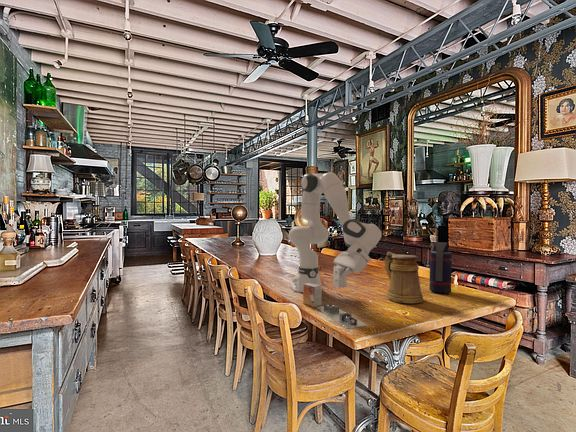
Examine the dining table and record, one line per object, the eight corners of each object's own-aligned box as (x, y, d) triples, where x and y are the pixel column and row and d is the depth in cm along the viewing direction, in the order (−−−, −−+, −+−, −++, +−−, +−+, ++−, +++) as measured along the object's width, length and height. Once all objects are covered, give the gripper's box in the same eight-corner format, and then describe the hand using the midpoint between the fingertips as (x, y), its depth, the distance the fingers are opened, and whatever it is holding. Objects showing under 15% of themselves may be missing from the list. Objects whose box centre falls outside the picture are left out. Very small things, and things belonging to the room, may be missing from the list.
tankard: (410, 306, 169) (411, 258, 168) (373, 296, 188) (374, 252, 187) (429, 301, 179) (430, 255, 179) (393, 291, 198) (393, 250, 198)
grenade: (430, 288, 206) (431, 240, 205) (452, 291, 200) (453, 241, 199) (427, 293, 194) (428, 242, 193) (449, 296, 188) (451, 244, 187)
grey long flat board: (315, 307, 166) (315, 301, 166) (333, 305, 170) (333, 299, 169) (346, 328, 138) (346, 320, 138) (367, 325, 142) (367, 317, 141)
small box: (303, 303, 173) (303, 283, 173) (310, 301, 177) (310, 282, 176) (314, 307, 167) (314, 286, 167) (321, 305, 171) (321, 284, 171)
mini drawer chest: (332, 285, 155) (333, 266, 155) (341, 284, 157) (341, 265, 156) (338, 287, 150) (338, 267, 150) (346, 286, 152) (346, 267, 152)
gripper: (341, 245, 165) (324, 266, 162) (365, 251, 146) (345, 274, 143) (349, 254, 167) (332, 274, 164) (373, 260, 148) (354, 284, 144)
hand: (338, 274), depth 153 cm, fingers closed on mini drawer chest, 5 cm apart
